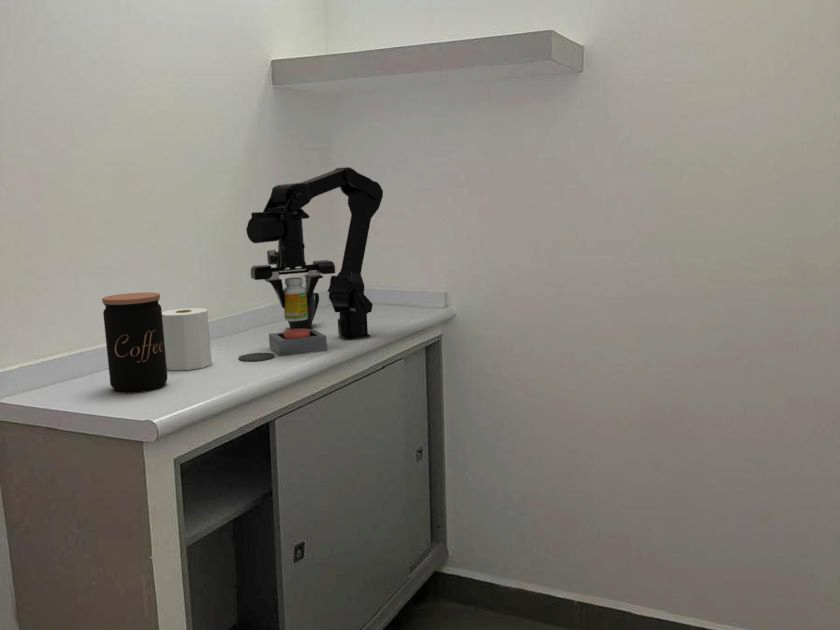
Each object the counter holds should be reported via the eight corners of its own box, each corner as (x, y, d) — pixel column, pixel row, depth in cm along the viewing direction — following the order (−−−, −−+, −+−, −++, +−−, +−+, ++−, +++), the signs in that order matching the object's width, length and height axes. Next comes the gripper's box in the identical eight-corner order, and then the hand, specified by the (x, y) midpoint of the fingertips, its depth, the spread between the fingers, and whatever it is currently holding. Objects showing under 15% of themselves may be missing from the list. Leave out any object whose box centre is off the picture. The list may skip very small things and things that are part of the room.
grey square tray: (314, 343, 202) (313, 329, 202) (326, 350, 192) (326, 335, 192) (269, 348, 198) (268, 333, 198) (279, 356, 188) (278, 340, 188)
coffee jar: (112, 396, 156) (103, 301, 153) (109, 385, 166) (100, 295, 163) (171, 389, 160) (163, 296, 158) (164, 378, 170) (156, 290, 167)
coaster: (270, 352, 192) (270, 351, 192) (278, 359, 185) (278, 357, 185) (235, 356, 189) (235, 355, 189) (242, 363, 182) (241, 361, 182)
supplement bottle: (303, 321, 191) (300, 279, 190) (281, 321, 192) (278, 280, 191) (311, 317, 196) (308, 276, 195) (289, 317, 197) (286, 277, 196)
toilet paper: (176, 361, 188) (171, 308, 186) (219, 360, 186) (215, 307, 184) (155, 371, 178) (149, 315, 176) (200, 370, 176) (195, 314, 174)
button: (306, 337, 199) (306, 327, 198) (313, 341, 193) (312, 331, 193) (281, 340, 197) (281, 330, 196) (287, 344, 191) (286, 333, 191)
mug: (331, 324, 229) (329, 290, 228) (302, 332, 219) (300, 296, 218) (308, 323, 234) (306, 289, 232) (279, 330, 224) (276, 295, 223)
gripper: (321, 235, 202) (325, 299, 205) (243, 240, 195) (249, 306, 198) (333, 237, 192) (338, 304, 194) (252, 243, 185) (258, 312, 188)
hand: (295, 306), depth 194 cm, fingers closed on supplement bottle, 5 cm apart
